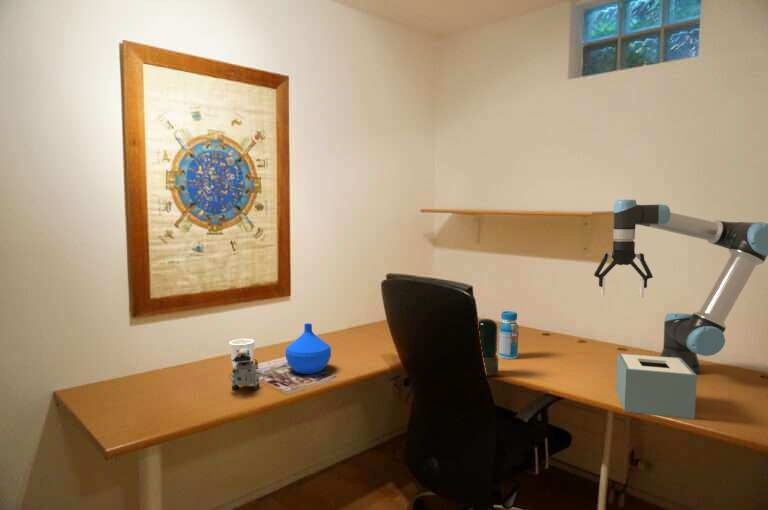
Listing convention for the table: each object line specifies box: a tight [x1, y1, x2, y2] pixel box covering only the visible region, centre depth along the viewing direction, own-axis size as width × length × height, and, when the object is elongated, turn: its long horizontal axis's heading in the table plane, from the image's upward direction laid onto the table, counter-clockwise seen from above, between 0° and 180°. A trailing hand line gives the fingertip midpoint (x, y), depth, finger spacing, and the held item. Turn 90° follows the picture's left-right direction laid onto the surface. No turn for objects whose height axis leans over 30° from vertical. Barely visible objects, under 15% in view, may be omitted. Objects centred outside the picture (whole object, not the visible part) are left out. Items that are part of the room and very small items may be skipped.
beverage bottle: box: [498, 310, 520, 360], centre depth 226 cm, size 8×8×20 cm
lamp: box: [477, 318, 499, 377], centre depth 203 cm, size 10×10×22 cm
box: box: [615, 352, 698, 420], centre depth 171 cm, size 20×20×14 cm
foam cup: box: [228, 338, 255, 368], centre depth 202 cm, size 10×9×13 cm
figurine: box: [229, 348, 261, 391], centre depth 183 cm, size 9×12×15 cm
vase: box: [284, 322, 332, 375], centre depth 206 cm, size 18×18×19 cm
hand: (622, 295), depth 195 cm, fingers open, 13 cm apart
